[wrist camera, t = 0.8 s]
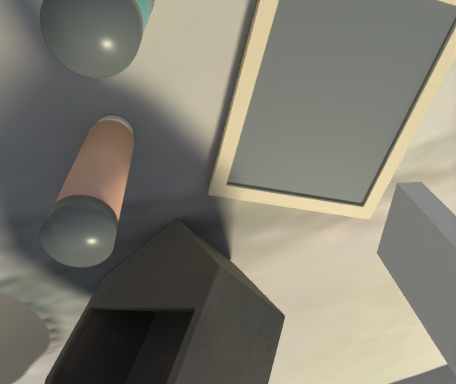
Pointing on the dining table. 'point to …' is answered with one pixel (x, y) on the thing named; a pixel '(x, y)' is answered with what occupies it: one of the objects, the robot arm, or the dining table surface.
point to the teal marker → (94, 33)
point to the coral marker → (91, 197)
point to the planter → (173, 320)
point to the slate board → (331, 100)
